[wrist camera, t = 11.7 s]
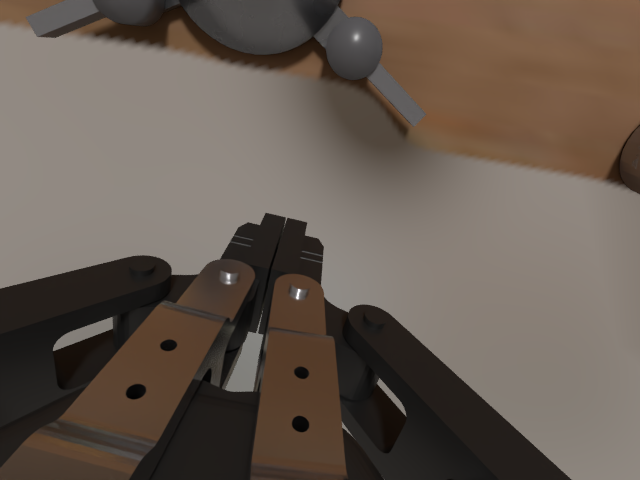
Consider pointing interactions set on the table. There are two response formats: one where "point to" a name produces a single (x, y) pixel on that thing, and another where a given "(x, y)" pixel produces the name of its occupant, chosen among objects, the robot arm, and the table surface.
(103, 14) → the knob
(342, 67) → the grey bar with ball
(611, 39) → the table surface
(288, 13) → the base
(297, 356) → the robot arm
